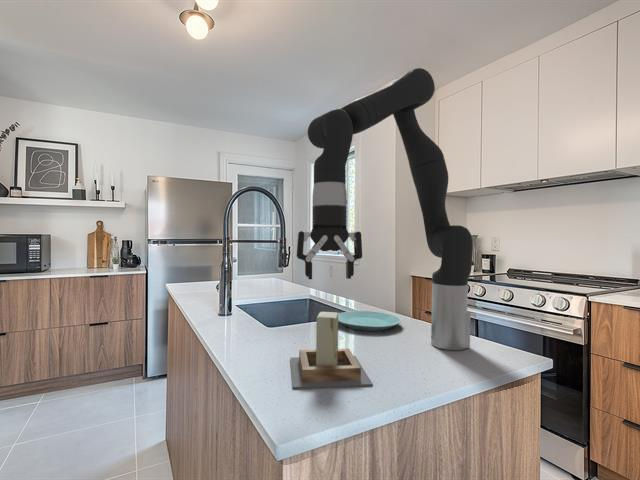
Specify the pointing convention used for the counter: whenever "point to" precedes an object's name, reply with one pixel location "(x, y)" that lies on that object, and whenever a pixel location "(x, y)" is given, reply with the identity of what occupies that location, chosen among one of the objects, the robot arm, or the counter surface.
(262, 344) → the counter surface
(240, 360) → the counter surface
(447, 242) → the robot arm
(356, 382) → the mat
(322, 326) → the skincare box
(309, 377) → the collar
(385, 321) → the plate
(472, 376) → the counter surface
